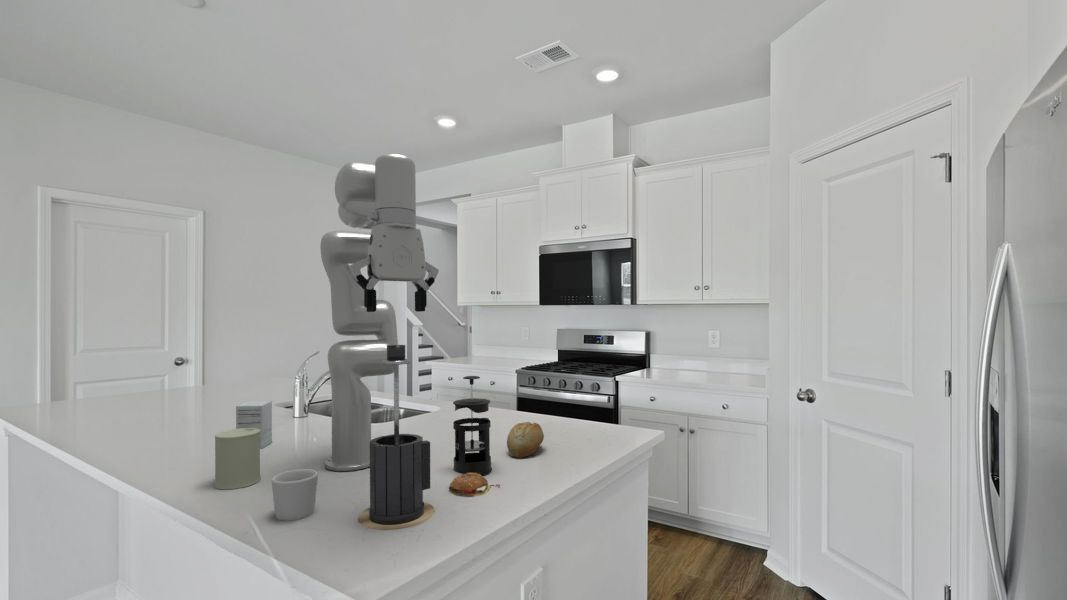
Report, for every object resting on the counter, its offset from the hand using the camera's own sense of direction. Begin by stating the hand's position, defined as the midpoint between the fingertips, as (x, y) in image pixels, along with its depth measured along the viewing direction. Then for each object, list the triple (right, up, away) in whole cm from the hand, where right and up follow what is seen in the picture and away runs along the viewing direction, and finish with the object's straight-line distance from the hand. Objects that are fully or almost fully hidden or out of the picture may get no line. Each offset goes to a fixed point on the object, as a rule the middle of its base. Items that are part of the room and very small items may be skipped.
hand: (396, 311), depth 95 cm
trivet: (0, -39, -1) cm, 39 cm away
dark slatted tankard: (0, -38, -1) cm, 38 cm away
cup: (-19, -39, +2) cm, 44 cm away
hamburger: (+14, -40, +14) cm, 44 cm away
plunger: (0, -28, 0) cm, 28 cm away
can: (-42, -40, +21) cm, 62 cm away
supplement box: (-56, -41, +53) cm, 87 cm away
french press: (+11, -40, +27) cm, 49 cm away
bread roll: (+24, -40, +44) cm, 64 cm away
